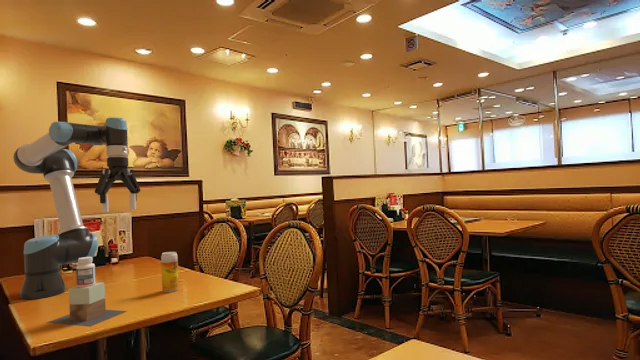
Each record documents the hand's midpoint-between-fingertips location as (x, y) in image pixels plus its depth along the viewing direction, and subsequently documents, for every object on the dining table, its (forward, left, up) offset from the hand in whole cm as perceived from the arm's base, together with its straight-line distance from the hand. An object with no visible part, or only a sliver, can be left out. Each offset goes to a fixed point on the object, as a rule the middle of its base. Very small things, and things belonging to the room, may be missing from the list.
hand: (119, 210), depth 154 cm
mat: (+12, -26, -33) cm, 43 cm away
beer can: (+17, +7, -33) cm, 38 cm away
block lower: (+12, -26, -32) cm, 43 cm away
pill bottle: (+12, -26, -22) cm, 36 cm away
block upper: (+12, -26, -27) cm, 40 cm away
